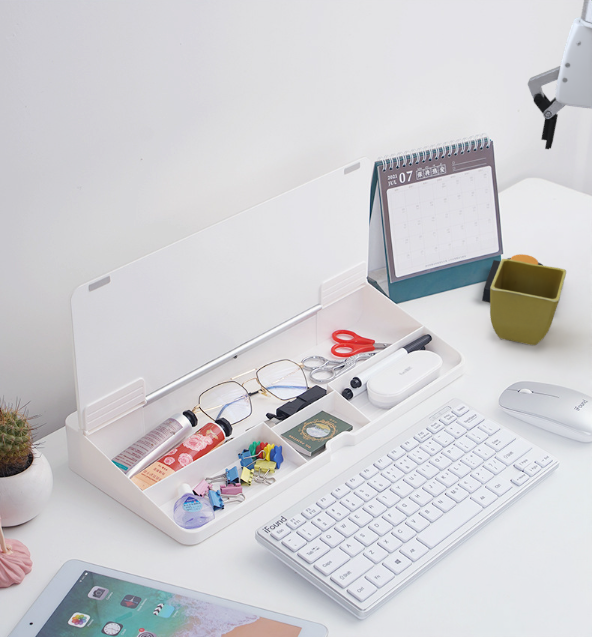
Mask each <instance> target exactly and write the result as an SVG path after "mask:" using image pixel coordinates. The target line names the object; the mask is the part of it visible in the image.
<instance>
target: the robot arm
mask: <svg viewBox="0 0 592 637" xmlns="http://www.w3.org/2000/svg"><path fill="white" fill-rule="evenodd" d="M555 81H556V84H555V85H556V87H555V96H554V97H553V98H552V99H551V100H550V99H549V98H548V97H547V95H546V94H545V93H544V91H543V86H544V85H545V86H546V85H547V84H550V83H553V82H555ZM527 87H528V89H529V93H530V95H531V97H532V99H533V103H534V104H535V106H536V107H537V109H539V111H540V112H541V114H542V116H543V118H544V122H543V128H542V132H541V139H540V140H541V141H545V146H544V150H550V149H552V147H553V146H552V145H553V143H554V137H555V132H556V127H557V123H558V122H557V121H558V116H559V112H560V111H561V110H562V109H564V107H565V106H568V107H575V108H582V109H591V110H592V0H583V4H582V9H581V13H580V16H578V17H575V18H574V20H573V22H572V24H571V27H570V30H569V33H568V35H567V38H566V42H565V45H564V49H563V53H562V58H561V62H560V65H559V66H556V67H554V68H551V69H549V70H546V71H544V72H541V73H539V74H537V75H534V76H531V77H530V78H529V79H528V81H527Z"/></svg>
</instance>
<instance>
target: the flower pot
mask: <svg viewBox="0 0 592 637" xmlns="http://www.w3.org/2000/svg"><path fill="white" fill-rule="evenodd" d="M500 261H501V262H500V265H499V267H498V270H497V272H496V275H495V277H494V280H493V282H492V284H491V287H490V302H489V316H490V322H491V326H492V329H493V331H494V332H495V334H496V336H497V337H498V338H499V339H501V340H505V341H509V342H510V341H511V342H515V343H521V344H525V345H530V346H536V345H538V344H539V343H540V342H542V340H543V339H544V338H545V337H546V336H547V334H548V332H549V331H550V329H551V326H552V324H553V320H554V318H555V314H556V311H557V309H558V305H559V302H560V298H561V295H562V291H563V287H564V282H565V279H566V275H567V270H566V269H564V268H561V267H555V266H547V265H544V264H542V265H536V264H531V263H526V262H521V261H515V260H510V259H508V258H501V259H500Z"/></svg>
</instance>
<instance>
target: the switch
mask: <svg viewBox="0 0 592 637" xmlns="http://www.w3.org/2000/svg"><path fill="white" fill-rule="evenodd" d="M507 259H511V257H508V258H507ZM500 262H501V260H495V259H493V261H492V264H491V266H490V270H489V271H488V272H489V273H488V275H487V278H486V281H485V284H484V287H483V292H482V298H481V301H482V302H486V303H490V287H491V284H492V282H493V280H494V277H495V275H496V272H497V270H498V267H499V265H500ZM538 265H543V264H542V263H541V262H539V261H538Z"/></svg>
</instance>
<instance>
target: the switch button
mask: <svg viewBox="0 0 592 637" xmlns="http://www.w3.org/2000/svg"><path fill="white" fill-rule="evenodd" d="M510 258H511V259H510V260H515V261H521V262H526V263H531V264H536V265H538V262H539V261H538V259H536V257H534V256H532V255H529V254H522V253H521V254H514V255H512V256H511V257H510Z"/></svg>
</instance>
